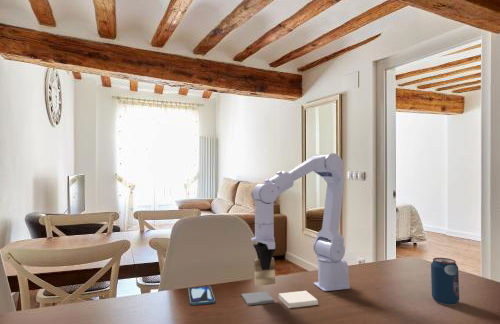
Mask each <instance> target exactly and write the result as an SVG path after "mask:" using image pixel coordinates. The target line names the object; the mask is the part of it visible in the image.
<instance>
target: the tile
mask: <svg viewBox="0 0 500 324" xmlns="http://www.w3.org/2000/svg"><path fill="white" fill-rule="evenodd" d="M278 299H279V300H280V301H281V302H282V303H283V304H284V305H285V306H286V307H287V309H291V308H301V307H308V306H309V307H311V306H316V305H317V306H318V305H319V302H318V301H319V300H318V299H317V298H316V297H315V296H314V295H312V294H311V293H309V292H308V291H307V290H301V291H299V290H298V291H289V292H280V293H278Z"/></svg>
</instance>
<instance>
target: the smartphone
mask: <svg viewBox="0 0 500 324" xmlns="http://www.w3.org/2000/svg"><path fill="white" fill-rule="evenodd" d="M187 289H188V296H189V298H188V299H189V305H191V306H197V305H209V304H215V303H216V298H215V295H214V293H213V289H212V287H211V285H201V286H200V285H199V286H190V287H188V288H187Z"/></svg>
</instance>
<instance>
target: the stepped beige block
mask: <svg viewBox="0 0 500 324" xmlns="http://www.w3.org/2000/svg"><path fill="white" fill-rule="evenodd" d="M275 267H276V265H275V258H274V257H273V256H272V259H271V264H270V268H269V270H262V267H261V261H260V259H258V258H254V259H253V269H254V271H253V272H254V274H253V275H254V276H253V277H254V285H255V286H256V287H259V286H269V285H276V271H275V270H276V268H275Z"/></svg>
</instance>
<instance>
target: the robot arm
mask: <svg viewBox="0 0 500 324" xmlns="http://www.w3.org/2000/svg"><path fill="white" fill-rule="evenodd" d="M344 164H345V163H344V161H343V159H342V158H341V157H340V156H339V155H338V154H337V153H333V152H331V153H327V154H315V155H313V156H311V157H309V158H308V159H306V160H305V161H303V162H301V163H300V164H299V165H297V166H296V167H295V168H293V169H291V170H290V171H284V170H283V171H280V170H279V171H277V172H276V175H274V176H272V177H271V178H266V179H264V182H263V183H258V184H256V185H254V187H253V189H252V192H250V194H251V198H252V199H253V201H254V237H251V238H250V241H252V242H256V243H254V244H253V248H254V250H255V253H256V255H257V259H260V261H261V267H262V270H269V268H270V264H271V259H272V257H273V256H274V253H275V251H276V249H277V247H276V242H275V236H274V235H275V231H274V230H275V228H274V225H275V224H274V223H275V222H274V220H275V218H274V215H275V214H274V211H275V209H274V206H275V205H274V202H275V201H276V200H277V198H278V196H280V195H281V194H283V193H285V192H286V191H288V190H290V189H291V188H293V186H294V183H295V181H297V180H299V179H301V178H302V177H304V176H306V175H308V174H310V173H312V172H314V173H315V174H316V175H319V177H321V178H322V179H323V180H324V181H325V182H326V191H325V200H324V209H323V217H322V218H323V219H322V225H321V229H320V230H319V231H318V232H317V234H316V238H315V240H314V242H313V247H312V248H313V252H314V254H315V255H316V258H317V275H318V276H317V278H318V279H317V280H318V281H314V282H313V285H315V286H316V287H317V288H319V289H320V290H321V291H323V292H329V291H330V292H331V291H340V290H349V289H351V286H350V275H349V273H350V272H349V271H350V270H349V265H348V262H347V261H346V259H344V256H345V254H346V248H345V245H344V244H345V243H344V241H345V238H344V237H343V235H342V234H341V233H340V223H341V214H342V207H343V205H342V204H343V196H344V186H345V177H344V176H345V174H344V171H343V170H344Z"/></svg>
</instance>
